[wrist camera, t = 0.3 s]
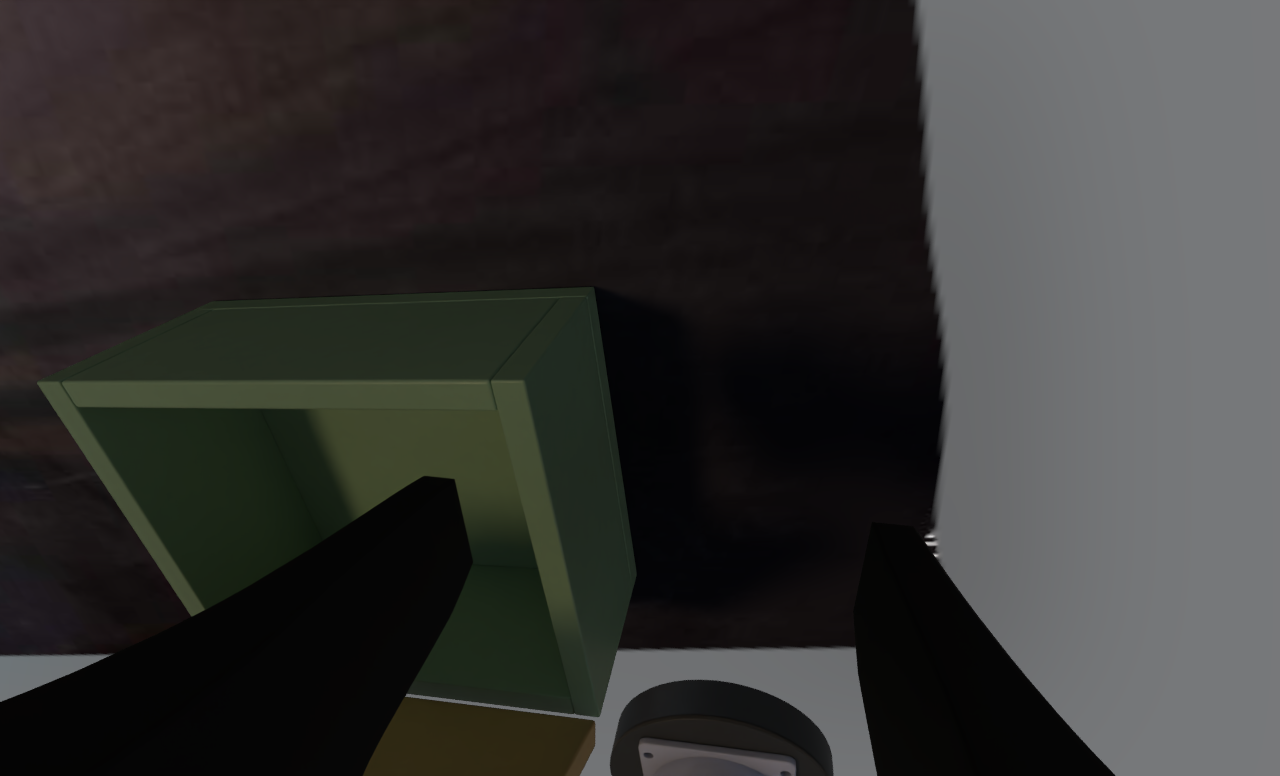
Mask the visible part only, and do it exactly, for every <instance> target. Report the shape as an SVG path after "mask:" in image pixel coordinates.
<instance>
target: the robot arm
mask: <svg viewBox="0 0 1280 776" xmlns="http://www.w3.org/2000/svg"><path fill="white" fill-rule="evenodd" d="M472 564H473V558H472V554H471V549H470V545H469V541H468V536H467V532H466V527H465V523H464V518H463V514H462V509H461V505H460V500H459V496H458V492H457V487H456V483H455V479H451V478H441V477H432V476H423V477H421V478H419V479H417V480H416V481H414V482H412V483H411V484H409V485H407V486H406V487H404V488H403V489H401V490H400V491H398V492H396V493H395V494H393V495H392V496H390V497H389V498H387V499H386V500H384V501H383V502H381V503H380V504H378V505H377V506H375V507H374V508H372V509H371V510H369V511H368V512H366V513H365V514H363V515H362V516H360V517H358V518H357V519H355V520H354V521H352V522H351V523H349V524H348V525H346V526H345V527H343V528H342V529H340V530H339V531H337V532H335V533H334V534H332V535H331V536H329V537H328V538H326V539H325V540H323V541H322V542H320V543H319V544H317V545H315V546H314V547H312V548H311V549H309V550H307V551H306V552H304V553H302V554H301V555H299V556H297V557H296V558H294V559H293V560H291V561H289V562H288V563H286V564H284V565H283V566H281V567H279V568H278V569H276V570H274V571H273V572H271V573H269V574H268V575H266V576H264V577H263V578H261V579H259V580H258V581H256V582H254V583H253V584H251V585H249V586H248V587H246V588H244V589H242V590H241V591H239V592H237V593H235V594H234V595H232V596H230V597H228V598H226V599H224V600H223V601H221V602H219V603H217V604H215V605H213V606H212V607H210V608H208V609H206V610H204V611H202V612H200V613H198V614H196V615H194V616H192V617H190V618H188V619H186V620H184V621H183V622H181V623H179V624H177V625H175V626H173V627H171V628H169V629H167V630H165V631H163V632H161V633H159V634H157V635H154V636H152V637H150V638H148V639H146V640H143V641H141V642H139V643H137V644H135V645H133V646H130V647H128V648H126V649H124V650H122V651H119V652H117V653H115V654H113V655H111V656H109V657H106V658H104V659H102V660H100V661H98V662H96V663H93V664H91V665H89V666H87V667H85V668H82V669H80V670H78V671H75V672H74V673H71V674H69V675H66V676H64V677H61V678H59V679H57V680H54V681H52V682H49V683H47V684H44V685H42V686H40V687H37V688H35V689H32V690H30V691H27V692H25V693H23V694H20V695H17V696H15V697H12V698H10V699H7V700H4V701H2V702H0V776H363V774H364V772H365V770H366V767H367V765H368V763H369V761H370V759H371V757H372V755H373V753H374V751H375V749H376V747H377V746H378V744H379V742H380V740H381V738H382V736H383V734H384V732H385V730H386V729H387V727H388V725H389V723H390V722H391V720H392V718H393V716H394V715H395V713H396V711H397V710H398V708H399V706H400V704H401V703H402V701H403V699H404V697H405V696H406V694H407V692H408V690H409V689H410V687H411V685H412V683H413V682H414V680H415V678H416V676H417V675H418V673H419V671H420V670H421V668H422V666H423V664H424V663H425V661H426V659H427V657H428V656H429V654H430V652H431V650H432V649H433V647H434V645H435V643H436V641H437V640H438V638H439V636H440V634H441V633H442V631H443V629H444V627H445V625H446V624H447V622H448V620H449V618H450V616H451V614H452V612H453V610H454V608H455V605H456V603H457V601H458V598H459V596H460V594H461V592H462V589H463V587H464V584H465V581H466V579H467V576H468V574H469V571H470V569H471V566H472ZM853 612H854V626H855V641H856V654H857V666H858V676H859V681H860V687H861V692H862V697H863V703H864V708H865V713H866V719H867V724H868V730H869V734H870V740H871V745H872V750H873V756H874V761H875V766H876V771H877V776H1115V775H1114V774H1113V773H1112V772H1111V770H1110V769H1109V768H1108V767H1107V766H1106V765H1105V764H1104V763H1103V762H1102V761H1101V760H1100V759H1099V758H1098V757H1097V756H1096V755H1095V754H1094V753H1093V752H1092V751H1091V750H1090V748H1088V746H1087V745H1086V744H1085V743H1084V742H1083V741H1082V740H1081V739H1080V738H1079V736H1077V735H1076V733H1075V732H1074V731H1073V730H1072V729H1071V728H1070V727H1069V725H1068V724H1067V723H1066V722H1065V721H1064V720H1063V719H1062V718H1061V717H1060V715H1059V714H1058V713H1057V712H1056V711H1055V710H1054V708H1053V707H1052V706H1051V705H1050V704H1049V703H1048V701H1046V699H1045V698H1044V697H1043V696H1042V695H1041V693H1040V692H1039V691H1038V690H1037V689H1036V688H1035V686H1034V685H1033V684H1032V683H1031V682H1030V681H1029V679H1028V678H1027V677H1026V676H1025V675H1024V673H1023V672H1022V671H1021V670H1020V669H1019V667H1018V666H1017V665H1016V664H1015V662H1014V661H1013V660H1012V659H1011V658H1010V656H1009V655H1008V654H1007V653H1006V651H1005V650H1004V649H1003V648H1002V646H1001V645H1000V644H999V642H998V641H997V640H996V638H995V637H994V636H993V635H992V633H991V632H990V631H989V630H988V628H987V627H986V626H985V624H984V623H983V622H982V621H981V619H980V618H979V617H978V615H977V614H976V613H975V611H974V610H973V609H972V607H971V606H970V605H969V603H968V602H967V601H966V599H965V598H964V597H963V595H962V594H961V592H960V591H959V590H958V588H957V587H956V586H955V584H954V583H953V582H952V580H951V579H950V577H949V576H948V574H947V573H946V572H945V570H944V569H943V567H942V566H941V565H940V563H939V562H938V560H937V559H936V557H935V556H934V555H933V553H932V552H931V550H930V549H929V547H928V546H927V544H926V543H925V541H924V540H923V539H922V537H921V536H920V534H919V533H918V532H917V531H916V529H915V528H914V527H913V526H903V525H894V524H884V523H875V522H872V526H871V531H870V535H869V540H868V545H867V549H866V554H865V559H864V564H863V568H862V573H861V578H860V583H859V587H858V592H857V597H856V601H855V606H854V611H853ZM638 748H639V754H640V759H641V765H642V770H643V776H796V761H795V760H794V759H793V758H792V757H790V756H788V755H782V754H774V753H766V752H759V751H751V750H743V749H735V748H728V747H720V746H712V745H705V744H697V743H689V742H681V741H674V740H666V739H658V738H650V737H644V738H641V739H640V742H639V747H638Z"/></svg>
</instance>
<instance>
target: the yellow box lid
mask: <svg viewBox="0 0 1280 776" xmlns="http://www.w3.org/2000/svg"><path fill="white" fill-rule="evenodd" d="M594 747H595V721H593V720H586V719H578V718H570V717H562V716H555V715H546V714H539V713H530V712H523V711H515V710H506V709H499V708H491V707H483V706H475V705H467V704H458V703H451V702H443V701H435V700H427V699H419V698H411V697H404V699H403V701H402V703H401V704H400V706H399V708H398V710H397V711H396V713H395V715H394V716H393V718H392V720H391V722H390V723H389V725H388V727H387V729H386V730H385V732H384V734H383V736H382V738H381V740H380V742H379V744H378V746H377V747H376V749H375V751H374V753H373V755H372V757H371V759H370V761H369V763H368V765H367V767H366V770H365V772H364V774H363V776H580V774H581V772H582V770H583V768H584V766H585V764H586V762H587V760H588V758H589V756H590V754H591V753H592V751H593V749H594Z"/></svg>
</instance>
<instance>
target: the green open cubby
mask: <svg viewBox="0 0 1280 776" xmlns="http://www.w3.org/2000/svg"><path fill="white" fill-rule="evenodd" d="M37 384H38V385H39V387H40V388H41V390H42V391H43V393H44V394H45V396H46V397H47V399H48V400H49V402H50V403H51V405H52V406H53V408H54V409H55V411H56V412H57V414H58V415H59V417H60V418H61V420H62V421H63V423H64V425H65V426H66V428H67V429H68V431H69V432H70V434H71V435H72V437H73V438H74V440H75V441H76V443H77V444H78V446H79V447H80V449H81V450H82V452H83V453H84V455H85V456H86V458H87V459H88V461H89V462H90V464H91V465H92V467H93V468H94V470H95V471H96V473H97V474H98V476H99V477H100V479H101V480H102V482H103V483H104V485H105V486H106V488H107V489H108V491H109V492H110V494H111V495H112V497H113V498H114V500H115V501H116V503H117V505H118V506H119V508H120V509H121V511H122V512H123V514H124V515H125V517H126V518H127V520H128V521H129V523H130V524H131V526H132V527H133V529H134V530H135V532H136V533H137V535H138V536H139V538H140V539H141V541H142V542H143V544H144V545H145V547H146V548H147V550H148V551H149V553H150V554H151V556H152V557H153V559H154V560H155V562H156V563H157V565H158V566H159V568H160V569H161V571H162V572H163V574H164V575H165V577H166V578H167V580H168V581H169V583H170V584H171V586H172V588H173V589H174V591H175V592H176V594H177V595H178V597H179V598H180V600H181V601H182V603H183V604H184V606H185V607H186V609H187V610H188V612H189V613H190V615H191V616H194V615H196V614H198V613H200V612H202V611H204V610H206V609H208V608H210V607H212V606H213V605H215V604H217V603H219V602H221V601H223V600H224V599H226V598H228V597H230V596H232V595H234V594H235V593H237V592H239V591H241V590H242V589H244V588H246V587H248V586H249V585H251V584H253V583H254V582H256V581H258V580H259V579H261V578H263V577H264V576H266V575H268V574H269V573H271V572H273V571H274V570H276V569H278V568H279V567H281V566H283V565H284V564H286V563H288V562H289V561H291V560H293V559H294V558H296V557H297V556H299V555H301V554H302V553H304V552H306V551H307V550H309V549H311V548H312V547H314V546H315V545H317V544H319V543H320V542H322V541H323V540H325V539H326V538H328V537H329V536H331V535H332V534H334V533H335V532H337V531H339V530H340V529H342V528H343V527H345V526H346V525H348V524H349V523H351V522H352V521H354V520H355V519H357V518H358V517H360V516H362V515H363V514H365V513H366V512H368V511H369V510H371V509H372V508H374V507H375V506H377V505H378V504H380V503H381V502H383V501H384V500H386V499H387V498H389V497H390V496H392V495H393V494H395V493H396V492H398V491H400V490H401V489H403V488H404V487H406V486H407V485H409V484H411V483H412V482H414V481H416V480H417V479H419V478H421V477H423V476H432V477H441V478H451V479H455V483H456V487H457V492H458V496H459V500H460V505H461V509H462V514H463V518H464V523H465V527H466V532H467V536H468V541H469V545H470V549H471V554H472V558H473V564H472V566H471V569H470V571H469V574H468V576H467V579H466V581H465V584H464V587H463V589H462V592H461V594H460V596H459V598H458V601H457V603H456V605H455V608H454V610H453V612H452V614H451V616H450V618H449V620H448V622H447V624H446V625H445V627H444V629H443V631H442V633H441V634H440V636H439V638H438V640H437V641H436V643H435V645H434V647H433V649H432V650H431V652H430V654H429V656H428V657H427V659H426V661H425V663H424V664H423V666H422V668H421V670H420V671H419V673H418V675H417V676H416V678H415V680H414V682H413V683H412V685H411V687H410V689H409V690H408V692H407V694H414V695H423V696H431V697H439V698H447V699H455V700H463V701H471V702H479V703H487V704H495V705H503V706H511V707H519V708H528V709H535V710H544V711H551V712H560V713H568V714H574V713H575V714H577V715H585V716H593V717H599V716H600V714H601V710H602V706H603V702H604V698H605V694H606V691H607V687H608V683H609V679H610V675H611V671H612V667H613V664H614V660H615V656H616V652H617V648H618V644H619V641H620V637H621V633H622V629H623V625H624V621H625V617H626V614H627V610H628V606H629V602H630V598H631V594H632V589H633V587H634V583H635V579H636V575H637V573H636V566H635V559H634V552H633V546H632V539H631V532H630V525H629V519H628V512H627V505H626V499H625V492H624V485H623V478H622V472H621V465H620V458H619V452H618V445H617V438H616V431H615V425H614V418H613V411H612V405H611V398H610V391H609V384H608V378H607V371H606V364H605V358H604V351H603V344H602V337H601V331H600V324H599V317H598V311H597V304H596V297H595V290H594V287H578V288H551V289H525V290H499V291H473V292H446V293H420V294H394V295H367V296H341V297H315V298H288V299H262V300H236V301H213V302H210V303H208V304H206V305H204V306H202V307H199V308H197V309H195V310H193V311H191V312H188V313H186V314H184V315H182V316H180V317H177V318H175V319H173V320H171V321H169V322H167V323H164V324H162V325H160V326H158V327H156V328H153V329H151V330H149V331H147V332H145V333H142V334H140V335H138V336H136V337H134V338H131V339H129V340H127V341H125V342H123V343H121V344H118V345H116V346H114V347H112V348H110V349H107V350H105V351H103V352H101V353H99V354H96V355H94V356H92V357H90V358H88V359H86V360H83V361H81V362H79V363H77V364H75V365H72V366H70V367H68V368H66V369H64V370H61V371H59V372H57V373H55V374H53V375H50V376H48V377H46V378H44V379H42V380H40V381H38V382H37Z"/></svg>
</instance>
